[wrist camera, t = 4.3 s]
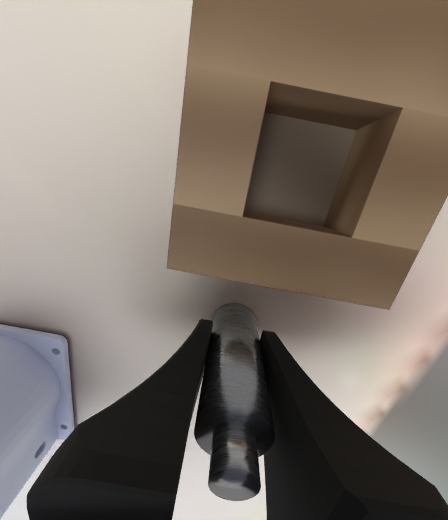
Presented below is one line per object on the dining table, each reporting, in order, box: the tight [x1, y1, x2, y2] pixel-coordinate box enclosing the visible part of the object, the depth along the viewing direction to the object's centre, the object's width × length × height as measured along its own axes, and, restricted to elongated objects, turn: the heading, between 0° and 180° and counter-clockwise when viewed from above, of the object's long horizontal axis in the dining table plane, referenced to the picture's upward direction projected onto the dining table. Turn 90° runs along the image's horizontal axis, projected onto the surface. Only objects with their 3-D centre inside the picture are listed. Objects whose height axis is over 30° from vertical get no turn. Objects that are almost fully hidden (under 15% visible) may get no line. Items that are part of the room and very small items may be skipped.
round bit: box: [194, 303, 275, 501], centre depth 9 cm, size 3×3×7 cm
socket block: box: [167, 0, 448, 310], centre depth 8 cm, size 9×9×3 cm
